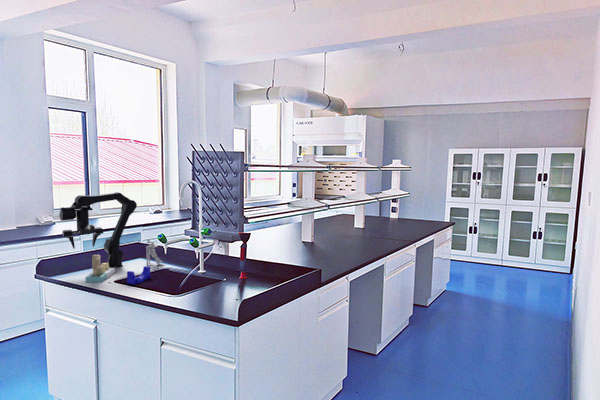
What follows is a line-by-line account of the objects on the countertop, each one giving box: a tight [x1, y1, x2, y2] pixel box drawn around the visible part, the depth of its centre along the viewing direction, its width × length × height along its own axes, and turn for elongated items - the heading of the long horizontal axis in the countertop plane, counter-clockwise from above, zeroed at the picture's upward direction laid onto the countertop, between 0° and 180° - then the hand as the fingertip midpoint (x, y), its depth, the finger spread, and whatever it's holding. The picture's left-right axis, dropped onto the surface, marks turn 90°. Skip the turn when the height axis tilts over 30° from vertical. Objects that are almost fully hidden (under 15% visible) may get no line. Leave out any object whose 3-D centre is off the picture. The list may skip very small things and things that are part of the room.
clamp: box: [145, 238, 164, 267], centre depth 229 cm, size 4×10×15 cm, turn 89°
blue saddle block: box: [126, 265, 151, 285], centre depth 199 cm, size 12×4×6 cm, turn 156°
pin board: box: [84, 262, 116, 283], centre depth 204 cm, size 17×8×6 cm, turn 6°
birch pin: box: [91, 254, 101, 277], centre depth 199 cm, size 4×4×12 cm
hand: (83, 247), depth 213 cm, fingers open, 9 cm apart
